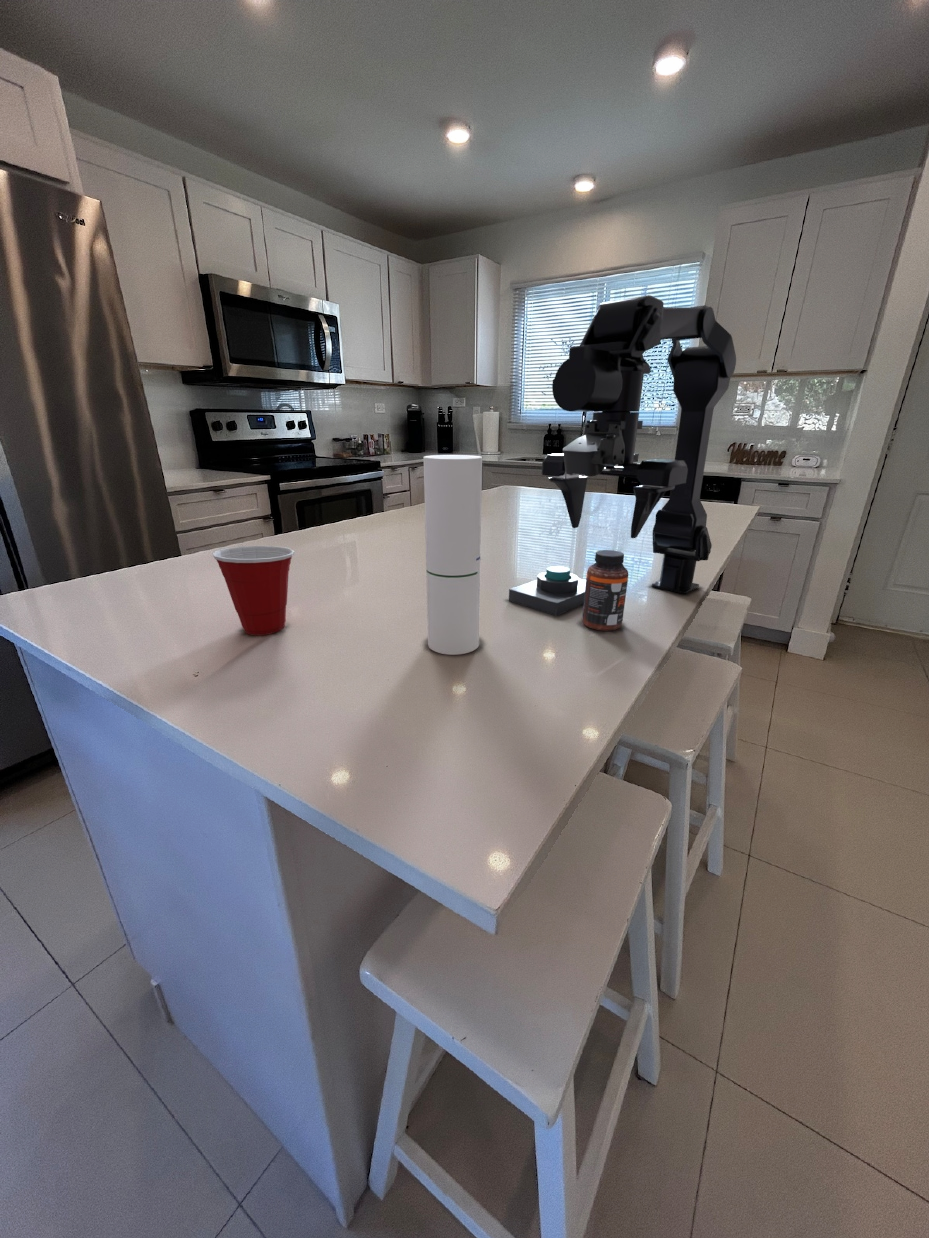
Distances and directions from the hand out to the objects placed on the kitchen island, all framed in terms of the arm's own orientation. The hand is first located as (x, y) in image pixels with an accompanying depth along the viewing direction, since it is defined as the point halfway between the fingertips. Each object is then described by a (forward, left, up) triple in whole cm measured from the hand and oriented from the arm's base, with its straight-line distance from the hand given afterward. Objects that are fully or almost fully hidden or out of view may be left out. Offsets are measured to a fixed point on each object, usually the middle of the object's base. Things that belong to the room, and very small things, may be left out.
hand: (603, 532), depth 71 cm
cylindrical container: (+19, -11, -15) cm, 26 cm away
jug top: (-7, -12, -15) cm, 20 cm away
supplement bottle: (-2, 0, -15) cm, 15 cm away
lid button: (-7, -12, -11) cm, 18 cm away
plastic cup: (+35, -35, -15) cm, 51 cm away
